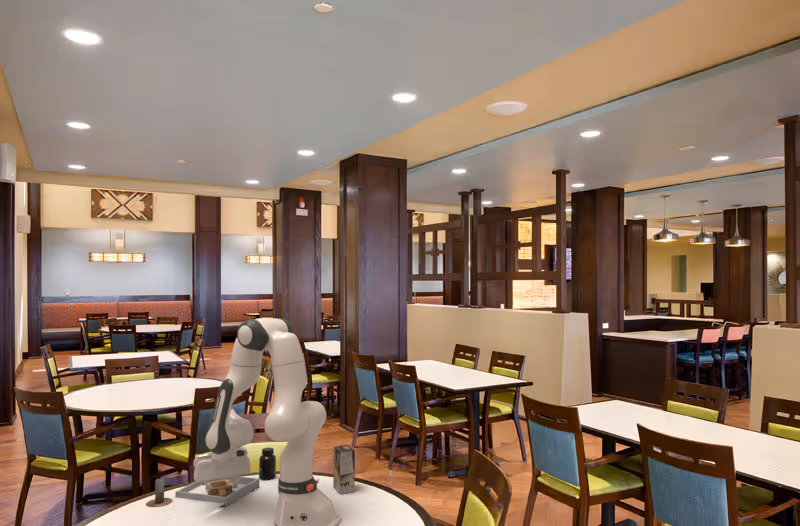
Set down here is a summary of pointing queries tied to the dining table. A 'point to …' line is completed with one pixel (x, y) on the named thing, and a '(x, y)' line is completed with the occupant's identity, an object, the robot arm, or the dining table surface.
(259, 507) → the dining table surface
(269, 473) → the supplement bottle
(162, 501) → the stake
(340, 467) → the coffee box
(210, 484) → the tabbed frame
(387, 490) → the dining table surface
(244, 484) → the tray
